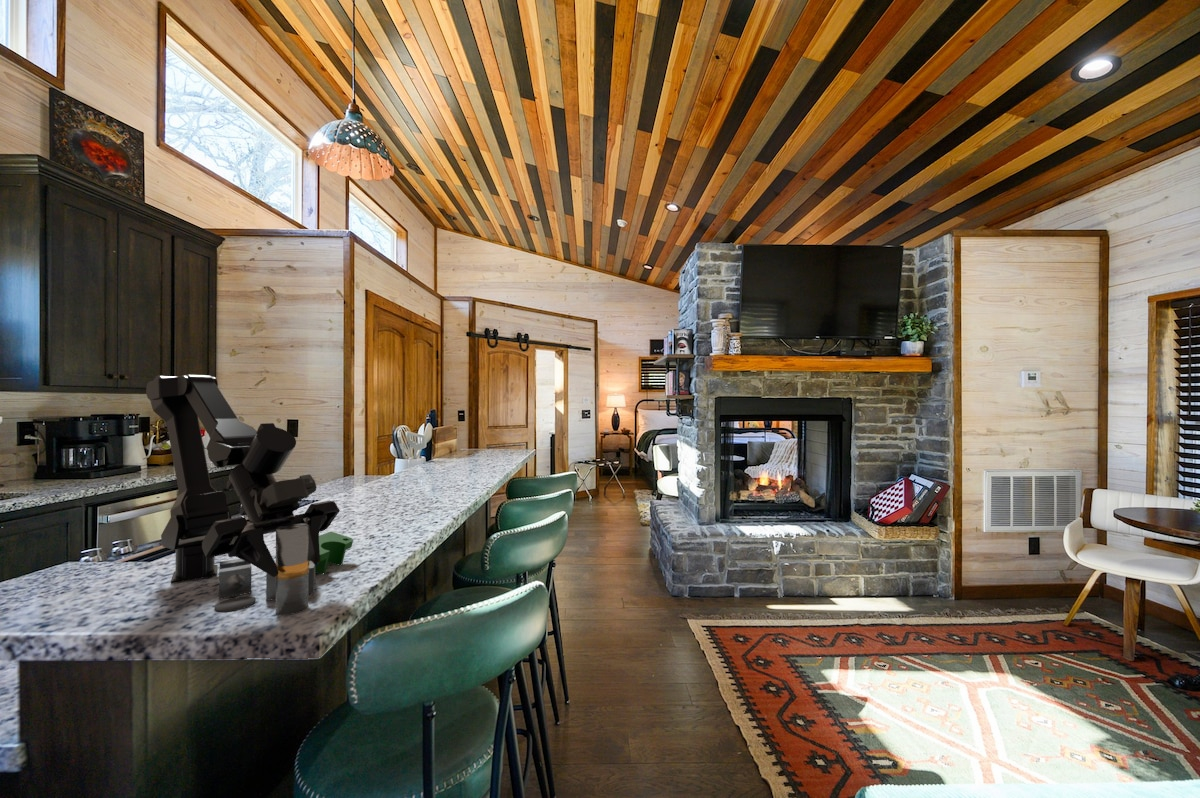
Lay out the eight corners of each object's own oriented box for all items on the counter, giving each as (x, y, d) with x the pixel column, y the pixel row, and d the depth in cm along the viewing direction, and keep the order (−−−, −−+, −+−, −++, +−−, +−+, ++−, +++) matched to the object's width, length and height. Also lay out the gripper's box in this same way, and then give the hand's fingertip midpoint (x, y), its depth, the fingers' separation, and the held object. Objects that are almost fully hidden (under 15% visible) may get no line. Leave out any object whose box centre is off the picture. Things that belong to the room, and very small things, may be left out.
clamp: (314, 598, 93) (310, 562, 89) (286, 589, 94) (281, 553, 90) (357, 556, 104) (355, 522, 100) (332, 548, 104) (329, 514, 101)
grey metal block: (219, 586, 87) (219, 561, 87) (250, 581, 90) (250, 557, 90) (218, 599, 81) (219, 572, 82) (251, 592, 84) (251, 567, 84)
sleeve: (273, 607, 78) (274, 526, 78) (307, 600, 81) (307, 522, 81) (276, 617, 74) (276, 532, 75) (310, 610, 77) (311, 527, 77)
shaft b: (266, 600, 81) (266, 573, 81) (270, 591, 85) (270, 565, 85) (313, 593, 84) (313, 567, 84) (315, 584, 88) (315, 560, 88)
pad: (214, 603, 80) (214, 601, 80) (255, 595, 83) (255, 593, 83) (213, 614, 76) (213, 612, 76) (256, 605, 79) (256, 604, 79)
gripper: (212, 467, 71) (253, 554, 66) (333, 455, 88) (374, 524, 83) (185, 515, 75) (222, 601, 70) (306, 495, 92) (344, 563, 86)
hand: (297, 568), depth 77 cm, fingers open, 6 cm apart
